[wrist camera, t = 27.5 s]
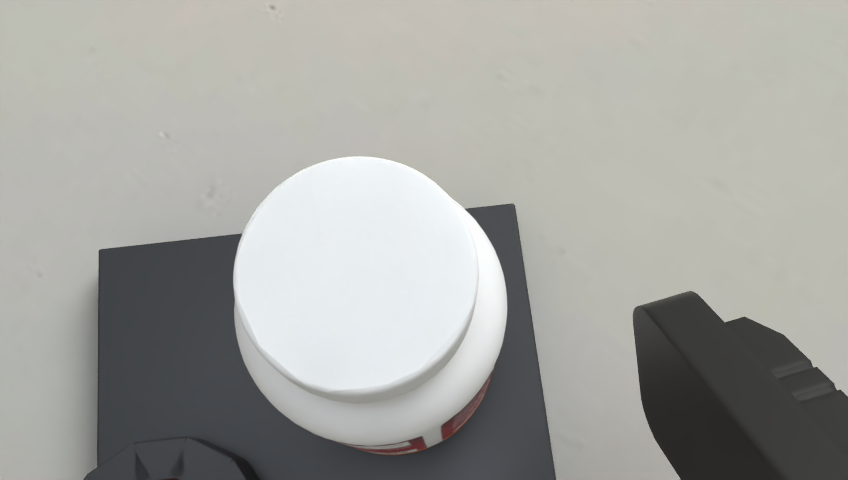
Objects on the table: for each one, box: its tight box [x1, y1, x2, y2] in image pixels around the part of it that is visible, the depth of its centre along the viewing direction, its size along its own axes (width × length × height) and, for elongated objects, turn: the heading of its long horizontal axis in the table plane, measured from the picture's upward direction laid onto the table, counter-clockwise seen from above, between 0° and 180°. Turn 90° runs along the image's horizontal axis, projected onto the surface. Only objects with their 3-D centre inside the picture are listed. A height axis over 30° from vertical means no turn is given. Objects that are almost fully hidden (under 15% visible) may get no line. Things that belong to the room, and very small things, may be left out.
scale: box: [84, 204, 556, 480], centre depth 25 cm, size 14×12×3 cm
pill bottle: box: [233, 156, 507, 455], centre depth 20 cm, size 6×6×11 cm
